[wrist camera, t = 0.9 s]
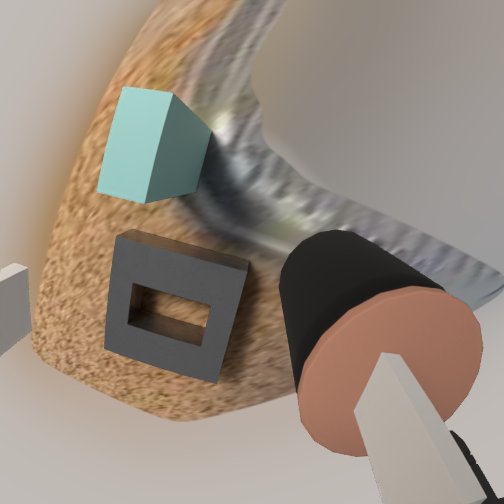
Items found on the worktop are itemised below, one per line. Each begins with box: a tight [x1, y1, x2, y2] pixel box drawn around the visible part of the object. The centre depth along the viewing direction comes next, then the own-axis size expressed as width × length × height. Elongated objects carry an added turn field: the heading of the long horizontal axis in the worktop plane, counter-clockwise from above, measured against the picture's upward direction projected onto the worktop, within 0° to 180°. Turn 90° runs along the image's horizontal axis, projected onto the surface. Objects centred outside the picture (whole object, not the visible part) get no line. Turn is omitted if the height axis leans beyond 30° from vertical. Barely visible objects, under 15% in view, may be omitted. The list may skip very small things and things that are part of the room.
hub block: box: [104, 229, 249, 384], centre depth 30 cm, size 12×12×4 cm
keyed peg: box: [97, 86, 212, 204], centre depth 22 cm, size 6×3×14 cm, turn 165°
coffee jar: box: [279, 230, 483, 457], centre depth 23 cm, size 11×11×18 cm
